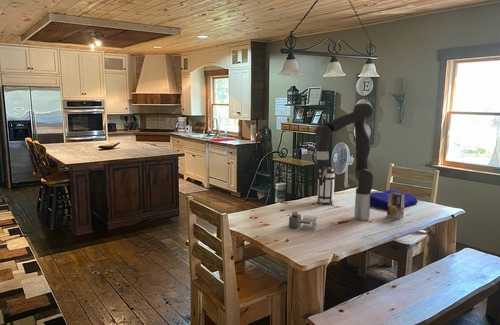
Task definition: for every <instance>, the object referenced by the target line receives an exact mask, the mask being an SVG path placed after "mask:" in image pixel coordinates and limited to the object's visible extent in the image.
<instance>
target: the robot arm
mask: <svg viewBox="0 0 500 325" xmlns="http://www.w3.org/2000/svg"><path fill="white" fill-rule="evenodd" d="M373 112H374V107H373V106H372V105H371V104H370V103H364V102H363V103H360V102H359V103H356V104H355V105H354V107H353V111H352V112H350V113H347V114H344V115H341V116H338V117H336V118H333V120H331V121H328V122H325V123H322V124H320V125H318V126H317V127H316V128H315V130H314V133H315V135H316V136H317V138H318V137H319V139H320V140H319V141H317V143H316V166H317V167H319V168H320V169H319V168H318V169H317V180H318V179H319V185H321V186H322V185H323V183H325V182H326V175H327V166H328V167H330V166H329V164H330V153H329V149H330V148H329V147H330V146H329V145H330V140H331V135H332V133H333V132H338V131H339V130H341V129H343V128H345V127H347V126H349V125H351V124H353V123H354V132H355V134H354V135H355V139H354V140H355V144H354V145H355V160H356V162H355V171H354V172H355V174H354V175H355V176H354V177H355V179H356V180H357V181H358V183H357V186H358V187H356V188H355V199H354V201H355V203H354V215H353V216H354V219H356V220H358V221H369V220H370V212H371V210H370V209H371V206H370V193H372V189H373V185H374V184H373V183H374V174H373V172H372V171H371V170H369V169H368V167H369V166H368V158H369V155H370V152H371V136H370V134H369V132H368V129H367V127H366V119H369V118H370V117H371V116H372V115H373ZM320 176H321V177H320Z"/></svg>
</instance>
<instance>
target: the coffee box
mask: <svg viewBox="0 0 500 325" xmlns="http://www.w3.org/2000/svg"><path fill="white" fill-rule="evenodd" d="M404 203H405V194H402V193H396V192H391V193H389V194H388V210H386V212H387V214H386V216H387V217H389V218H393V219H398V220H401V219H403V218H404V213H405V207H404Z"/></svg>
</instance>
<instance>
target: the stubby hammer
mask: <svg viewBox="0 0 500 325" xmlns="http://www.w3.org/2000/svg"><path fill="white" fill-rule="evenodd" d="M302 224H303V225H304V224H312V222H306V221H303V219H302V214H300V213H299V212H298V211H292V212H291V214H290V215H289V217H288V228H289V229H292V230H293V229H294V230H298V229H299V228H300V227H301V226H302Z"/></svg>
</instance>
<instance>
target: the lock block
mask: <svg viewBox="0 0 500 325" xmlns="http://www.w3.org/2000/svg"><path fill="white" fill-rule="evenodd" d="M302 220H303V221H306V222H311V223H310V224H304V223H303V224H302V230H303V231H310V232H315V230H317V216H313V215H304V216H303V217H302Z"/></svg>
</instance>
